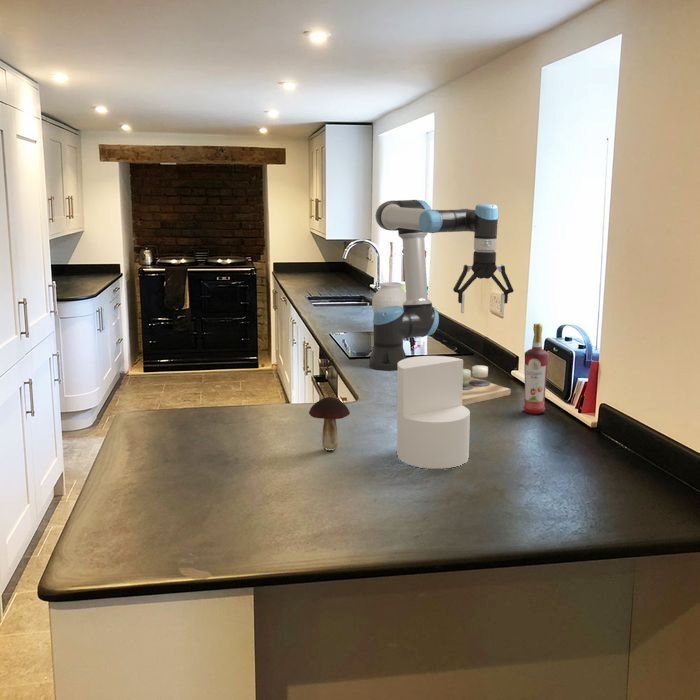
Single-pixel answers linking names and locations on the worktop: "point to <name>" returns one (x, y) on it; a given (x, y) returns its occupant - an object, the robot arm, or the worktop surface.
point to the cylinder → (432, 412)
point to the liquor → (535, 374)
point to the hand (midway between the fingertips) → (482, 312)
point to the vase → (389, 296)
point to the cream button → (479, 371)
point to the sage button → (466, 374)
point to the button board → (481, 391)
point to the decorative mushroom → (329, 418)
